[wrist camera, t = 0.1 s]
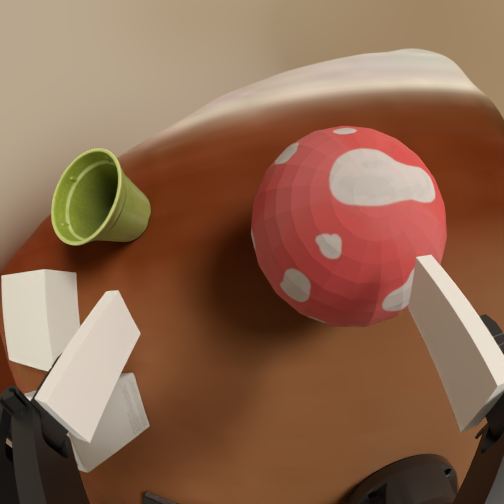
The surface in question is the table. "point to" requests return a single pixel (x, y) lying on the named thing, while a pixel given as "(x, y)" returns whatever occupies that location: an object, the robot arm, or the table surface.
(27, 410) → the robot arm
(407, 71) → the table surface
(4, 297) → the plinth
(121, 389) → the supplement box
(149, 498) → the picture frame
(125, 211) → the plant pot
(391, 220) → the decorative mushroom
